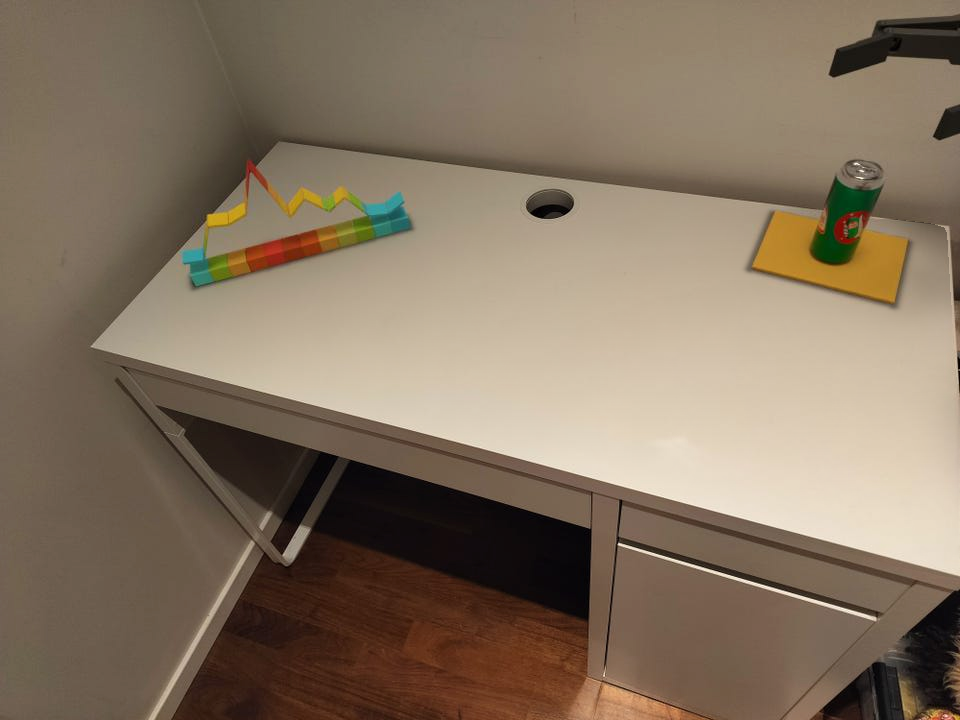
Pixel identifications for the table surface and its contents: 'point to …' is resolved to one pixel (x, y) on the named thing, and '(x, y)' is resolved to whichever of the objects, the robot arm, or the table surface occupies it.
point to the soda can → (847, 210)
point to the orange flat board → (861, 275)
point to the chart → (296, 245)
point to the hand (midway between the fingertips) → (884, 92)
